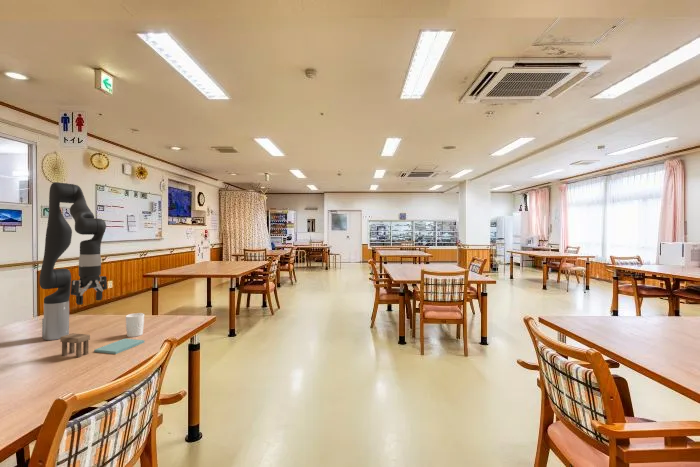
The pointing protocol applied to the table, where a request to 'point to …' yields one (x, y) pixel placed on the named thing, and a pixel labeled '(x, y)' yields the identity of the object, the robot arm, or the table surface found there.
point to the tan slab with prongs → (72, 340)
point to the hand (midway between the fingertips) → (89, 302)
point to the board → (119, 346)
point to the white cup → (134, 324)
